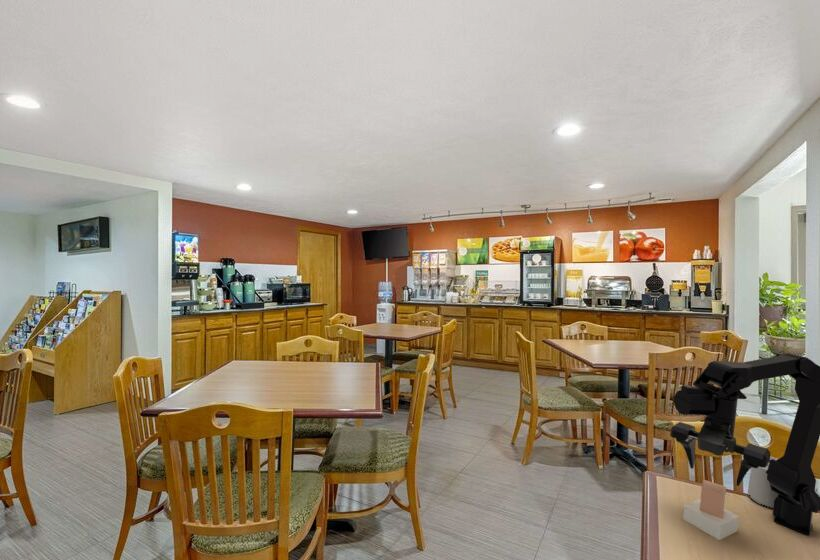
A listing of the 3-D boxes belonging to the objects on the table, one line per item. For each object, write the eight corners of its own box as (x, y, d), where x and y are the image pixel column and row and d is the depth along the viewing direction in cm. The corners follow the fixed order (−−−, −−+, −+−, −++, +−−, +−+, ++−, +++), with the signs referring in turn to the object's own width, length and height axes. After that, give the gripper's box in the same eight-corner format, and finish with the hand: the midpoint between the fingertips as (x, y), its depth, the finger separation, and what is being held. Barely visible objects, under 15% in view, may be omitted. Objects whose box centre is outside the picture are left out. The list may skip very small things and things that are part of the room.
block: (724, 510, 99) (726, 487, 99) (722, 518, 96) (724, 494, 95) (701, 502, 102) (703, 479, 102) (699, 510, 99) (701, 486, 98)
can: (791, 509, 107) (797, 466, 106) (768, 511, 105) (774, 468, 104) (761, 492, 114) (766, 451, 113) (740, 494, 113) (745, 453, 112)
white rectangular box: (737, 532, 97) (738, 516, 97) (718, 541, 94) (720, 525, 93) (701, 512, 104) (702, 497, 104) (683, 520, 101) (684, 505, 101)
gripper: (665, 409, 99) (659, 469, 100) (764, 438, 85) (756, 508, 86) (680, 400, 106) (675, 456, 107) (774, 425, 92) (766, 490, 93)
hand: (714, 476), depth 98 cm, fingers open, 9 cm apart
